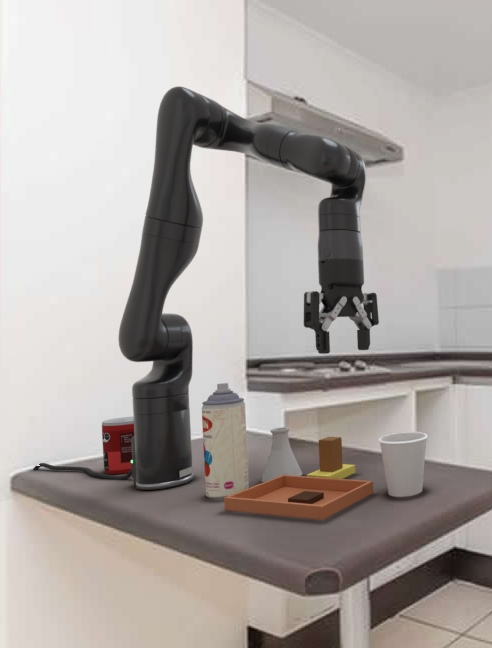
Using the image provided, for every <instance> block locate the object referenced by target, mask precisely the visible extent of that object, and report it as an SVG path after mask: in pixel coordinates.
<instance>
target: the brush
mask: <svg viewBox="0 0 492 648" xmlns="http://www.w3.org/2000/svg"><path fill="white" fill-rule="evenodd" d="M318 457H319V458H318V459H319V469H317V470H315V471H313V472H310V473H307V474H306V476H307V477H321V478H335V479H346V478H347V477H349V476H351V475H354V474H355V473H356V464H345V463H343V443H342V437H341V436H327V437H324V438H321V439H318Z"/></svg>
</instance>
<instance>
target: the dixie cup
mask: <svg viewBox="0 0 492 648" xmlns="http://www.w3.org/2000/svg"><path fill="white" fill-rule="evenodd" d="M428 437H429V435H428V434H427V433H425V432H421V431H402V432H401V431H400V432H392V433H387V434H384V435H382V436H380V437H379V438H378V443H379V445H380V452H381V458H382V463H383V469H384V475H385V481H386V488H387V493H388V495H389V496H391V497H395V498H404V497H412V496H416V495H418V494H420V493H422V492H423V487H424V486H423V485H424V473H425V461H426V450H427V449H426V448H427V439H428Z"/></svg>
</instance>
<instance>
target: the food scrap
mask: <svg viewBox="0 0 492 648" xmlns="http://www.w3.org/2000/svg"><path fill="white" fill-rule="evenodd" d="M323 498H324V493H323V492H311V491H303V492H301V493H299V494H297V495H294V496H292V497H290V498H288V502H293V503H304V504H313V503H315V502H317V501H319V500H321V499H323Z"/></svg>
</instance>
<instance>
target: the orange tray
mask: <svg viewBox="0 0 492 648" xmlns="http://www.w3.org/2000/svg"><path fill="white" fill-rule="evenodd" d="M303 491H311V492H323V493H324V498H323V499H321V500H319V501H317V502H315V503H313V504H304V503H293V502H288V498H290V497H292V496H294V495H297V494H299V493H301V492H303ZM373 493H374V480H363V479H361V480H360V479H350V478H349V479H347V478H343V479H335V478H321V477H307V475H306V476H304V475H301V476H292V475H282V476H279V477H277V478H274V479H271V480H269V481H266V482H261V483H258V484H255V485H253V486H251V487H250V486H249V488H248V489H245V490H243V491H240V492H237V493H235V494H232V495H230V496H227V497H224V498H223V504H224V505H223V507H224V511H229V512H239V513H248V514H257V515H258V514H259V515H260V514H261V515H268V516H277V517H289V518H300V519H309V520H317V521H323V520H325V519H327V518H329V517H331V516H333V515H335V514H337V513H338V512H340V511H342V510H344V509H346V508H348V507H350V506H352V505H353V504H355V503H357V502H359V501H361V500H363V499H365V498H366V497H368V496H370V495H372V494H373Z"/></svg>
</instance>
